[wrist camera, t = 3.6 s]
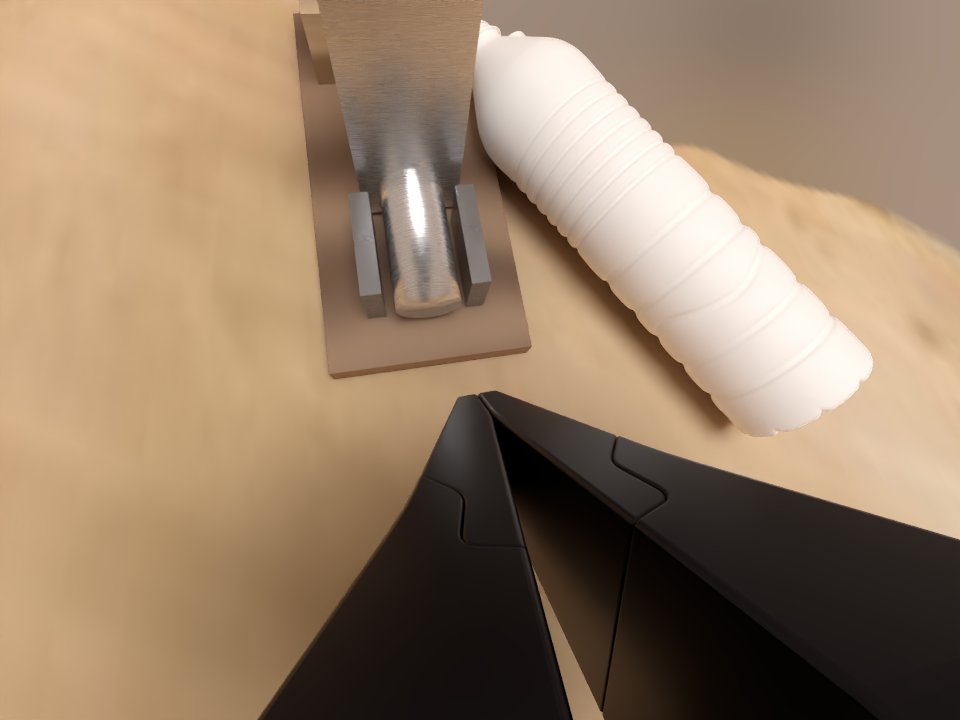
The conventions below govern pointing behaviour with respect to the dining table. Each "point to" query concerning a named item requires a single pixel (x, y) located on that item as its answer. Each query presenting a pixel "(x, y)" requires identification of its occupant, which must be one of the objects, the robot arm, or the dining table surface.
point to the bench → (332, 177)
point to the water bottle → (661, 237)
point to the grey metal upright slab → (408, 128)
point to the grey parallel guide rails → (466, 245)
